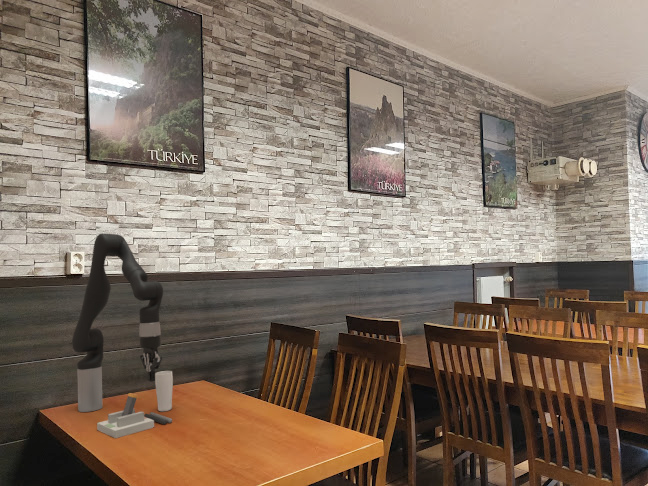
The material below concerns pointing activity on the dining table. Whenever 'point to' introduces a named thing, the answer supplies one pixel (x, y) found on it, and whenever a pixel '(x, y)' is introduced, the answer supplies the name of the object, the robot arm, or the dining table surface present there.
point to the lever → (129, 404)
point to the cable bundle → (158, 418)
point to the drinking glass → (164, 390)
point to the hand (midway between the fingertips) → (151, 381)
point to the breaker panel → (125, 429)
